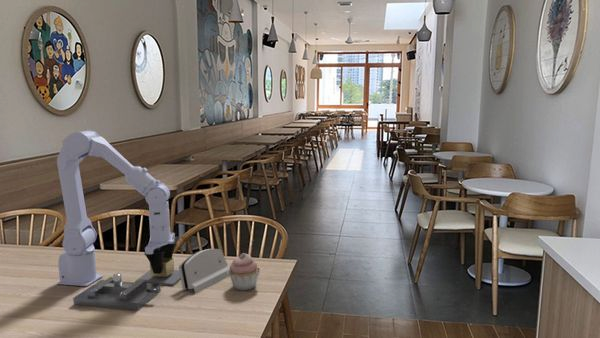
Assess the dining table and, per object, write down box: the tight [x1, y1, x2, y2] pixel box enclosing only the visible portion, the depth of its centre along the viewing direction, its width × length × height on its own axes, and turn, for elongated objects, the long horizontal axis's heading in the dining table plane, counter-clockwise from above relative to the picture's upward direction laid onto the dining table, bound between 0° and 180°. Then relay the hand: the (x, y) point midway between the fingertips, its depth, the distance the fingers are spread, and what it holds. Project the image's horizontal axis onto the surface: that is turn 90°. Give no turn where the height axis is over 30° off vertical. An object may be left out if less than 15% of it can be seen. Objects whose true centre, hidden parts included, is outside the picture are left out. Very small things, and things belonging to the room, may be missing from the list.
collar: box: [149, 257, 175, 277], centre depth 135 cm, size 5×5×4 cm
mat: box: [134, 269, 181, 287], centre depth 135 cm, size 12×10×1 cm
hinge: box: [178, 248, 230, 294], centre depth 132 cm, size 17×5×10 cm, turn 150°
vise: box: [73, 272, 162, 312], centre depth 121 cm, size 20×12×6 cm, turn 80°
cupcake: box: [227, 252, 261, 291], centre depth 128 cm, size 9×9×10 cm
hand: (162, 269), depth 135 cm, fingers open, 5 cm apart
